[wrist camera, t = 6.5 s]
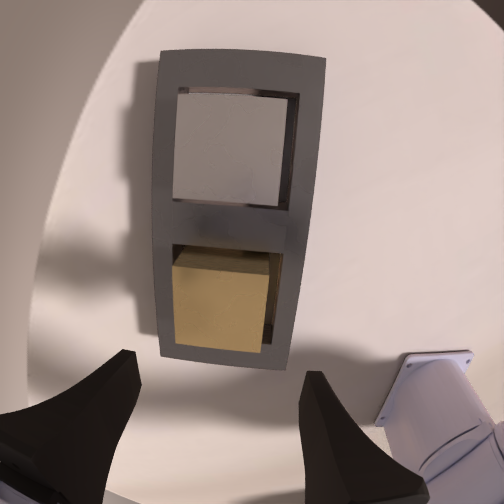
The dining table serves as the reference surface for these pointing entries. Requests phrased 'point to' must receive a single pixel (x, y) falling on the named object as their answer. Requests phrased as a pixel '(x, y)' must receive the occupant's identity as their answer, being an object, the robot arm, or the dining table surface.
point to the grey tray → (232, 213)
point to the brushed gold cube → (220, 297)
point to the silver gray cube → (229, 148)
